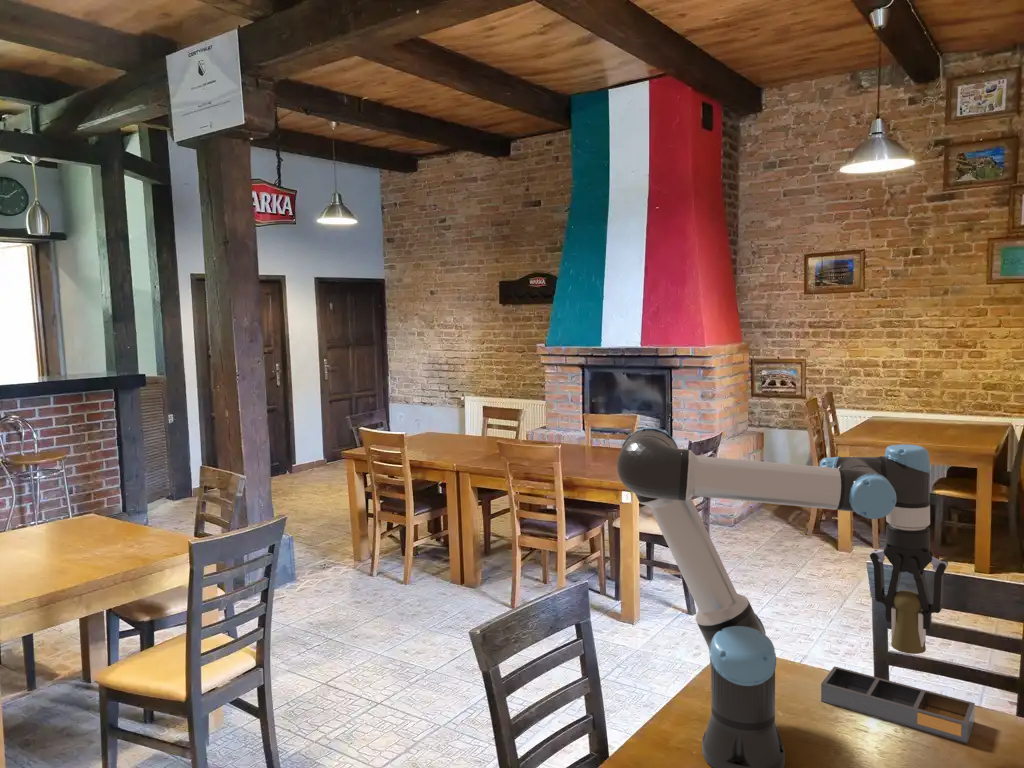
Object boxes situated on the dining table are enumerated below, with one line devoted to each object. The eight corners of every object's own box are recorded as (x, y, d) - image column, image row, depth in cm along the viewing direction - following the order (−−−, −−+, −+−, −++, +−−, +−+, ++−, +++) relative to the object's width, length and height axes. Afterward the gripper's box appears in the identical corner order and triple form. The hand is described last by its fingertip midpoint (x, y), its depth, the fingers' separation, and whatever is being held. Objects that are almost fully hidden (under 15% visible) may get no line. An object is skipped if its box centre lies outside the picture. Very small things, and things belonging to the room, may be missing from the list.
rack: (974, 721, 150) (974, 703, 150) (966, 744, 143) (967, 724, 143) (834, 683, 168) (834, 666, 167) (820, 701, 160) (821, 683, 160)
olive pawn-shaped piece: (930, 654, 142) (930, 599, 141) (896, 653, 143) (895, 598, 142) (920, 640, 148) (920, 587, 147) (887, 639, 149) (887, 586, 148)
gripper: (962, 526, 141) (962, 644, 143) (865, 514, 152) (867, 624, 154) (955, 536, 135) (954, 659, 137) (855, 523, 146) (856, 637, 148)
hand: (908, 640), depth 145 cm, fingers closed on olive pawn-shaped piece, 4 cm apart
